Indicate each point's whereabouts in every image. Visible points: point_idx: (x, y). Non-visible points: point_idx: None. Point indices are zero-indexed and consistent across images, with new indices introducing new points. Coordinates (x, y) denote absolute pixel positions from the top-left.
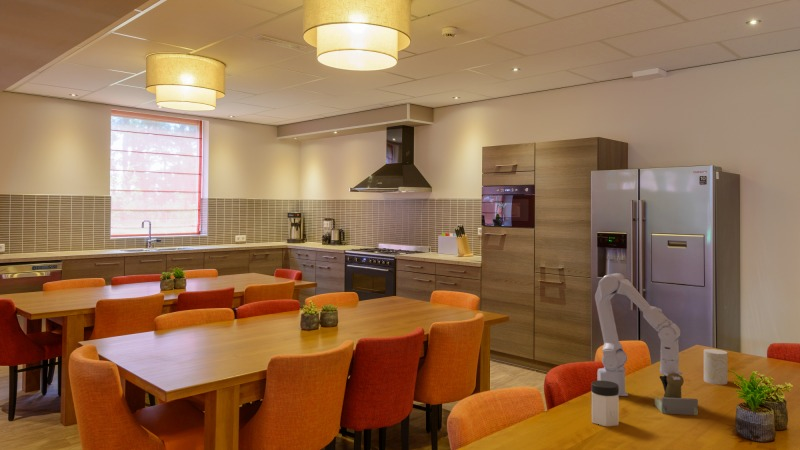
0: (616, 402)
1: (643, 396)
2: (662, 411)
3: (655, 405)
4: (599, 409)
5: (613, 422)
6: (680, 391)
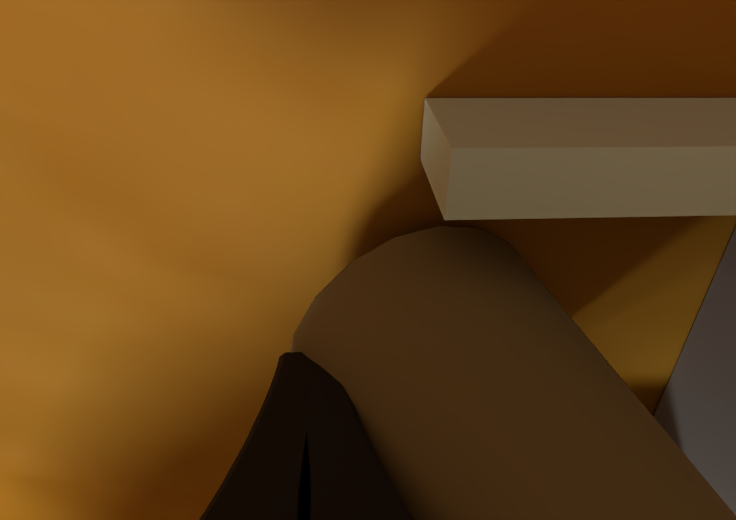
0: None
1: (72, 510)
2: None
3: None
4: None
5: None
6: (724, 503)
